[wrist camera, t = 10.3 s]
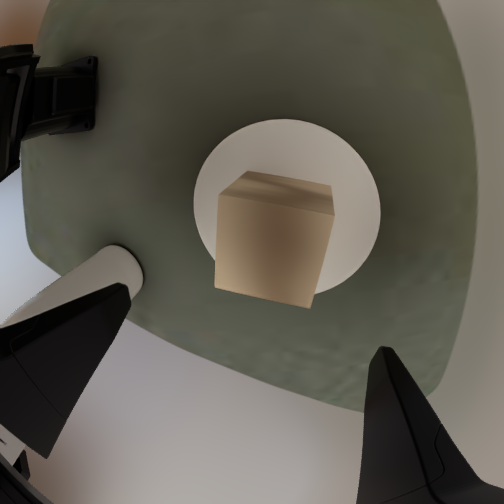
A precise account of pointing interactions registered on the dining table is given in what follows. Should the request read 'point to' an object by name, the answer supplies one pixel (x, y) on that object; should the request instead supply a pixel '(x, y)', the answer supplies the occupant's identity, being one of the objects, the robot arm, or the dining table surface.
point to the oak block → (273, 237)
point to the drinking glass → (84, 282)
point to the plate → (304, 168)
